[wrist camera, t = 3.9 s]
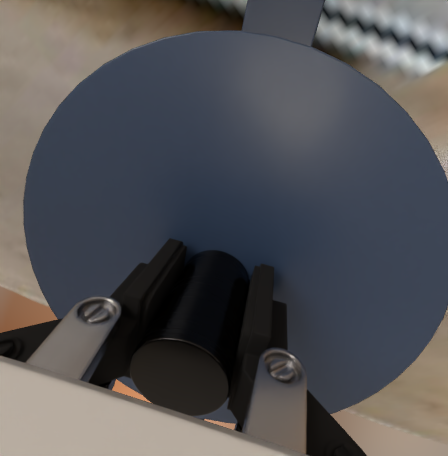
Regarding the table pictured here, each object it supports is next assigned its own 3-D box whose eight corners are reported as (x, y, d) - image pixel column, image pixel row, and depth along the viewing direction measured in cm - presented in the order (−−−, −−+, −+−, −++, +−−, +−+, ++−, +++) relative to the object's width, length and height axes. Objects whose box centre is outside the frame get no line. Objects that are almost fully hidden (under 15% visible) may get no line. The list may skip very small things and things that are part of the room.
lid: (47, 350, 18) (-58, 462, 12) (30, -12, 11) (-250, -138, 5) (342, 444, 16) (373, 617, 11) (556, 103, 9) (976, 104, 4)
